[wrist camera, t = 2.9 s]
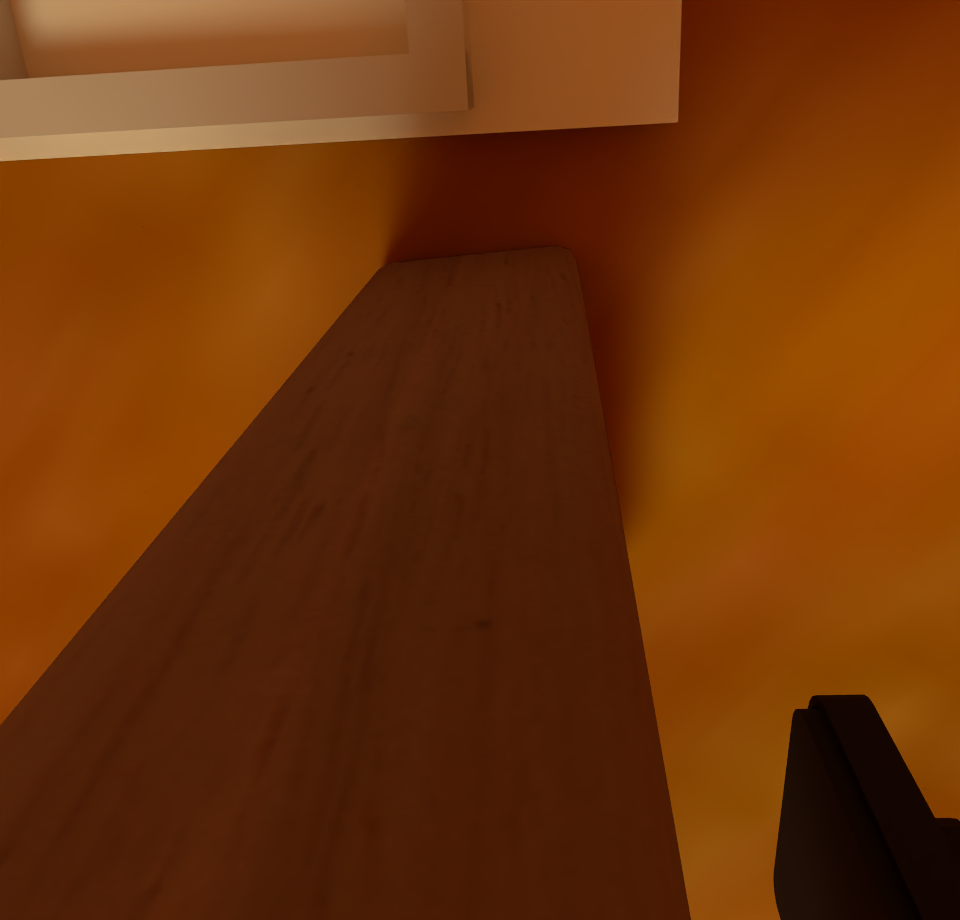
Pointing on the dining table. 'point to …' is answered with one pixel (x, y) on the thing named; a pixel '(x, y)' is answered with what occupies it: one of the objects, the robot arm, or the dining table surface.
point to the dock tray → (324, 71)
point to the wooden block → (370, 649)
